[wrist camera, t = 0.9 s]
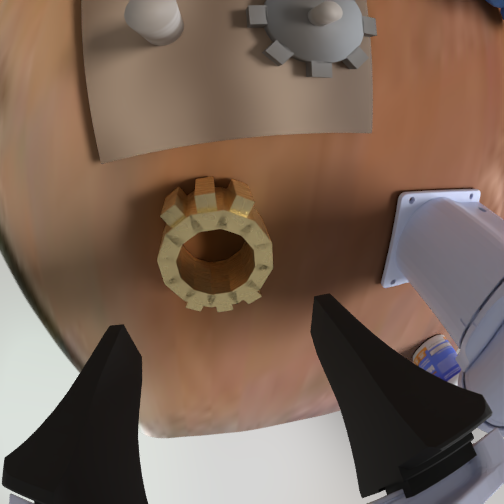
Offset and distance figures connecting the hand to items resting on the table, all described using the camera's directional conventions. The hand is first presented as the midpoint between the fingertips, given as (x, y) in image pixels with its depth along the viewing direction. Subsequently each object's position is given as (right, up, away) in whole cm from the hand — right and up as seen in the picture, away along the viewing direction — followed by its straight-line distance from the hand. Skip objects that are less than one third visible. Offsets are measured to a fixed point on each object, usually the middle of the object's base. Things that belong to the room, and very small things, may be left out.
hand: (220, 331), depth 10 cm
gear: (-1, +4, +6) cm, 7 cm away
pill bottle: (+24, -9, +20) cm, 32 cm away
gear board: (0, +14, 0) cm, 14 cm away
